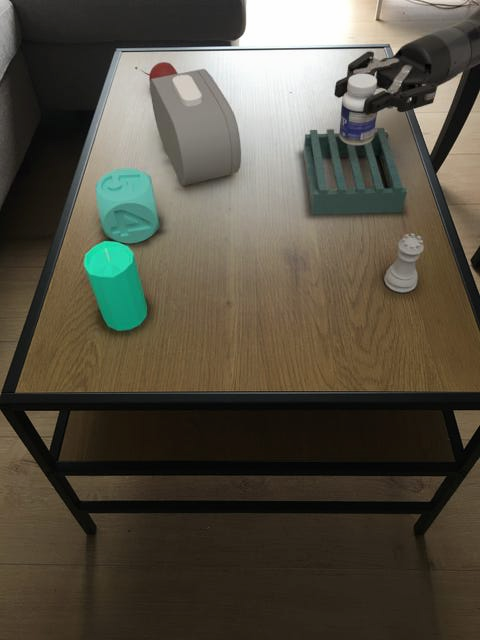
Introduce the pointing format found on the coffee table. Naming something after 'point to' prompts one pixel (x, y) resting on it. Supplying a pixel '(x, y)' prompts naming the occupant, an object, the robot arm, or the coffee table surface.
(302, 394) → the coffee table surface
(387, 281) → the rook chess piece
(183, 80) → the alarm clock
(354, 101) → the pill bottle
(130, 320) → the candle
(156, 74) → the fruit
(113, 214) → the decorative dice
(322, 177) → the rack
